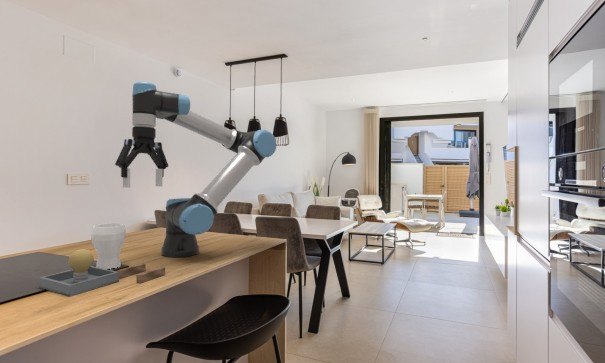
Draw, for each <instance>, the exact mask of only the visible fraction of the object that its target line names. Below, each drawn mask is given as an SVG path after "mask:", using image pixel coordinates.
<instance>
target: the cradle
mask: <svg viewBox="0 0 605 363" xmlns="http://www.w3.org/2000/svg"><path fill="white" fill-rule="evenodd" d="M116 271H117V272H119V280H120V279H122V278H127V277H129V276H133V275H136V280H135V282H136V284H142V283H145V282H148V281H151V280H154V279H157V278H160V277H163V276H165V275H166V267H163V266H161V267H158V268H155V269H152V270H148V271H147V270H146V263H144V262H143V263H139V264H136V265H132V266H128V267H125V268H121V269H118V270H116Z"/></svg>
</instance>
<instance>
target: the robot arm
mask: <svg viewBox="0 0 605 363" xmlns="http://www.w3.org/2000/svg"><path fill="white" fill-rule="evenodd" d="M131 97H132V117H131V119H132V121H131V122H132V126H133V127H132V128H131V131H132V132H131V134H132V136H131V137H132V138H125V139H124V140H123V143H124V144H123V147H122V148H121V150H120V153H119V155H118V157H117V159H116V162H115V164H114V165H115V166H116V167H118V168H119V169H120V177H121V178H122V188H128V189H129V188H131V168H129V166H130V165H131V164H132V163H133V162H134V160H135V159H136V157H137V156H138V155H139V154H146V155H148V156H149V158H150V159H151V160H152V162H153V163H154V165H155V166H156V168H155V187H161V188H162V187H163V178H164V177H165V176H164V174H165V172H164V171H165V169H167V168H169V163H168V160H167V157H166V154H165V152H164V150H163V144H162V142H159V141H156V142H155V139H156V138H157V137H156V135H157V134H156V133H157V129H156V126H157V123H156V122H157V121H156V119H158V120H165V121H168V122H171V123H173V124H175V125H177V126H179V127H182V128H185V129H187V130H189V131H191V132H193V133H196V134H198V135H200V136H203V137H205V138H207V139H209V140H212V141H214V142H216V143H219V144H221V145H223V146H224V148H225V149H227V150H229V151H231V152H233V153H236V154H235V155H234V156H233V158H231V159H230V161H229V162H227V164H226V165H225V167H224V166H223V168H222V169H221V170H220V172H218V173H217V175H216V176H215V177H214V178H213V179H212V180H211V181H210V182H209V183H208V185H207V186H206V187H205V188H204V189H203V190H202V191H201V192H200V193H194V194H193V195H192V196H191V197H182V198H181V197H180V198H179V197H177V198H170V199H169V198H168V200H166V204H165V205H166V206H165V236H164V240H163V245H162V247H161V248H160V249H161V250H160V253H161V256H163V257H168V258H183V257H191V256H196V255H197V254H200V245H199V244H198V240H197V237H196V236H197V235H202V234H204V233H207V232H208V231H209V229H210V228H211V227H212V225H213V224H214V219H215V216H216V215H217V214H218V213H219V212H218V207H219V206H220V205H221V204H222V203H223V201H224V200H225V199H226V197H227V196H228V195H229V194H231V192H232V191H233V190H234V188H236V186H237V185H238V184H239V183H240V182H241V181H242V179H243V178H244V177H245V176H246V175H247V174H248V173H249V171H251V169H252V168H253V167H254V166H255V167H256V166H259V165H260V164H261V163H262V162H263V160H264V159H265V158H269V157H271V156H273V155H274V154H275V152H276V151H277V150H276V149H277V141H276V138H275V135H273V133H272V132H270V131H269V130H267V129H258V130H255V131H248V132H247V131H240V130H237V129H234V128H233V129H229V128H228V127H225V125H224V126H223V125H221V124H219V123H217V122H215V121H213V120H211V119H208V118H206V117H205V116H202V115H201V114H198V113H196V112H194V111H192V110H190V109H191V99H190V97H189V96H187V95H184V94H181V93H172V92H167V91H161V90H158V89H157V86H156V84H154V83H152V82H149V81H137V82H134V83H133V85H132V95H131Z"/></svg>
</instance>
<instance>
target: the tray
mask: <svg viewBox="0 0 605 363" xmlns="http://www.w3.org/2000/svg"><path fill="white" fill-rule="evenodd" d="M87 271H88V280H85V281H81V282H78V283H75V282H73V279H74V278H73V276H74V275H73V273H74V270H73V269H69V270H65V271H62V272H61V271H60V272H58V273H53V274H48V275H44V276H39V277H38V288H39V289H42V288H43V290H45V289H46V291H49V292H53V293H56V294H60V295H64V296H67V297H73V296H77V295H81V294H83V293H86V292H89V291H92V290H95V289H99V288H103V287H105V286H108V285H112V284H115V283H118V282H119V281H120V279H119V272H117V270H113V269H110V270H107V269H103V268H98V267H96V266H93V265H91V266H90V267H89V269H88V270H87Z"/></svg>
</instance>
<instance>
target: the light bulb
mask: <svg viewBox="0 0 605 363" xmlns="http://www.w3.org/2000/svg"><path fill="white" fill-rule="evenodd" d="M94 259H95V256H94V254H93V251H91V250H89V249H86V248H80V249H77V250H74V251H72V252H71V253H70V255H69V257H68V261H67V262H68V265H69V267H70V268H71V270H74V273H73V275H74V276H73V278H74V279H73V282H75V283H78V282H81V281H85V280H88V271H87V270H88V269H89V267H90V266H93V263H94V261H95V260H94Z"/></svg>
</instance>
